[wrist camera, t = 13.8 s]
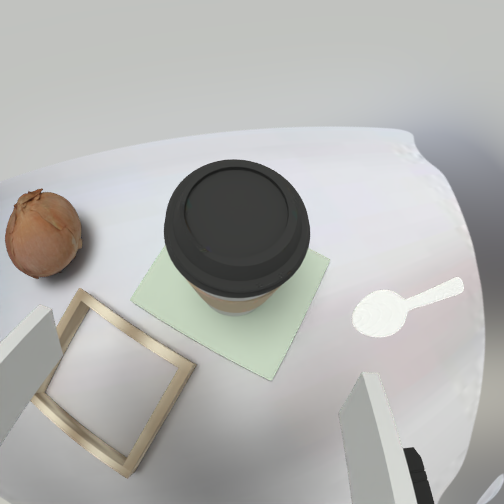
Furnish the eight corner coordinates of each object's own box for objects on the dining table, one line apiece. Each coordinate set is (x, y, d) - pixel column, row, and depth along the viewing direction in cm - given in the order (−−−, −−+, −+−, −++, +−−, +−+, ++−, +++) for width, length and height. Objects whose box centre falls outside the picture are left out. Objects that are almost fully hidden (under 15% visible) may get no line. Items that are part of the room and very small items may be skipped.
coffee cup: (255, 228, 33) (274, 127, 19) (294, 304, 30) (350, 245, 16) (175, 259, 31) (138, 171, 17) (209, 342, 28) (190, 315, 14)
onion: (60, 238, 35) (26, 177, 28) (109, 238, 33) (73, 165, 26) (23, 292, 28) (-24, 230, 21) (69, 302, 26) (13, 227, 19)
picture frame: (35, 393, 24) (23, 393, 22) (89, 293, 29) (79, 287, 27) (134, 471, 23) (127, 478, 20) (196, 364, 28) (193, 364, 25)
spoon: (467, 302, 32) (469, 301, 32) (357, 347, 30) (359, 346, 29) (455, 265, 34) (457, 264, 34) (344, 300, 32) (346, 299, 31)
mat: (132, 302, 30) (129, 300, 29) (201, 199, 35) (200, 194, 34) (270, 380, 28) (271, 381, 27) (327, 262, 33) (330, 259, 32)
